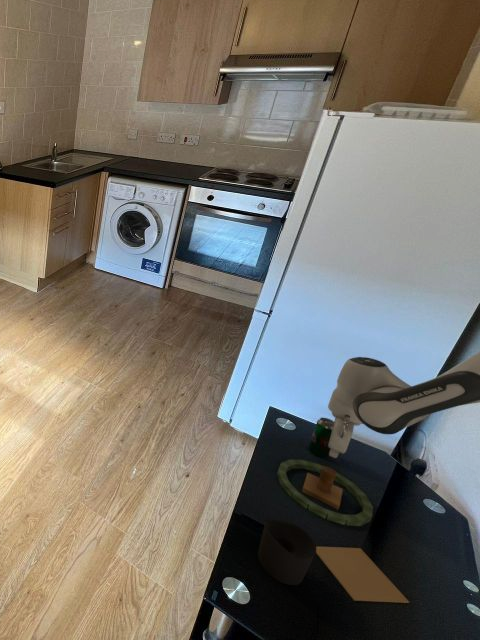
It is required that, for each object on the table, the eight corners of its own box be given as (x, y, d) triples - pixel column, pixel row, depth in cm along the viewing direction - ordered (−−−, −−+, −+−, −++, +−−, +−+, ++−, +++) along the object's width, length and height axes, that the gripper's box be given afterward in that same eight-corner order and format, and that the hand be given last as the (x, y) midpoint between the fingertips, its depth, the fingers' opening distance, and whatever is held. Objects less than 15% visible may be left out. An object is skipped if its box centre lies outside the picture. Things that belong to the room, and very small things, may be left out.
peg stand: (341, 493, 116) (349, 471, 114) (338, 510, 111) (347, 487, 108) (306, 476, 122) (313, 455, 119) (301, 491, 116) (309, 469, 114)
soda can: (309, 444, 134) (319, 414, 131) (328, 452, 131) (339, 422, 127) (306, 452, 131) (317, 421, 127) (327, 461, 127) (338, 430, 124)
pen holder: (292, 596, 90) (305, 564, 87) (247, 559, 97) (257, 528, 94) (311, 574, 94) (323, 543, 91) (267, 540, 102) (276, 510, 99)
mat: (359, 549, 100) (360, 548, 100) (409, 603, 89) (409, 602, 89) (311, 547, 101) (311, 546, 100) (353, 600, 89) (354, 599, 89)
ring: (372, 494, 116) (374, 489, 115) (368, 541, 102) (370, 536, 102) (284, 453, 130) (286, 449, 129) (270, 490, 116) (272, 485, 116)
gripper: (361, 432, 106) (345, 473, 110) (366, 398, 120) (352, 436, 124) (330, 419, 111) (316, 459, 115) (339, 389, 124) (325, 425, 128)
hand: (334, 447), depth 119 cm, fingers open, 8 cm apart
